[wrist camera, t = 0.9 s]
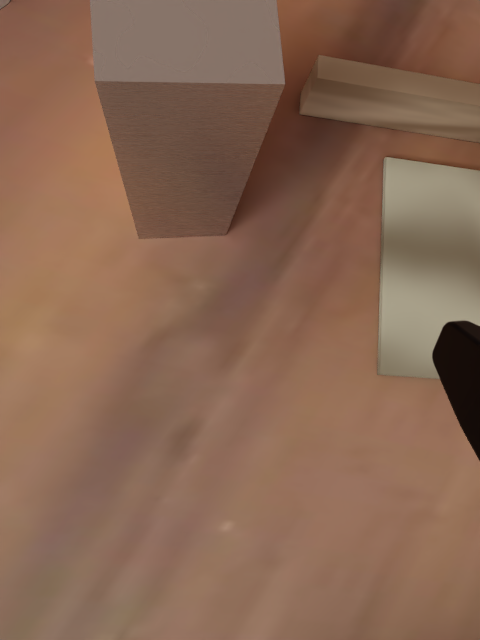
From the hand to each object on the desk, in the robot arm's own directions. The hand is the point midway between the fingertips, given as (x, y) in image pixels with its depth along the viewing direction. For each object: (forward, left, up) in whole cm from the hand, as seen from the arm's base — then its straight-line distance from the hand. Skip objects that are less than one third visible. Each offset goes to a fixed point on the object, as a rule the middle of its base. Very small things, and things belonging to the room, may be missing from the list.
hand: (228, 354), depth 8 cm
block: (+10, +2, -13) cm, 17 cm away
